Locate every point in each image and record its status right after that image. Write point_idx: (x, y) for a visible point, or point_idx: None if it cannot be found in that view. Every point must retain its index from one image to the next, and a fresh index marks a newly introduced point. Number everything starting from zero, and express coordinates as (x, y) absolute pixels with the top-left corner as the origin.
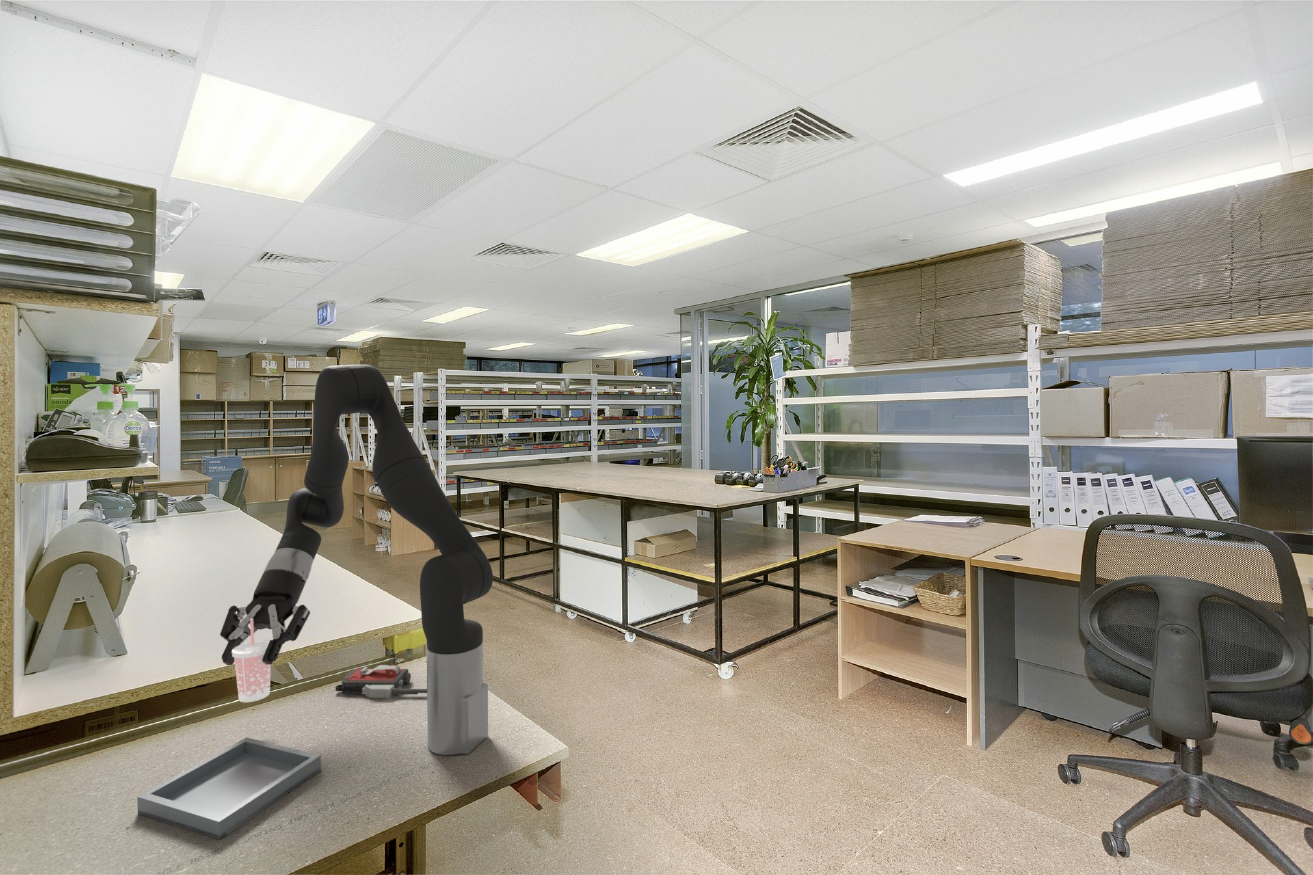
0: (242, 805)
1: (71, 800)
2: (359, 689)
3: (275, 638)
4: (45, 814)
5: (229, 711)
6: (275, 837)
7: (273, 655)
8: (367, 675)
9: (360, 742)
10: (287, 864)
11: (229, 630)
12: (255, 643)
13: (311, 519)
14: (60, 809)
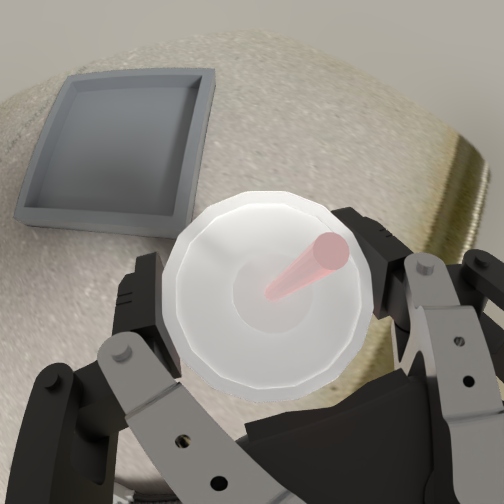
0: (57, 99)
1: (337, 93)
2: (142, 496)
3: (122, 336)
4: (333, 74)
5: (376, 362)
6: (24, 114)
7: (119, 286)
8: None
9: (15, 315)
10: (4, 100)
11: (482, 290)
12: (282, 322)
13: None
14: (327, 80)
